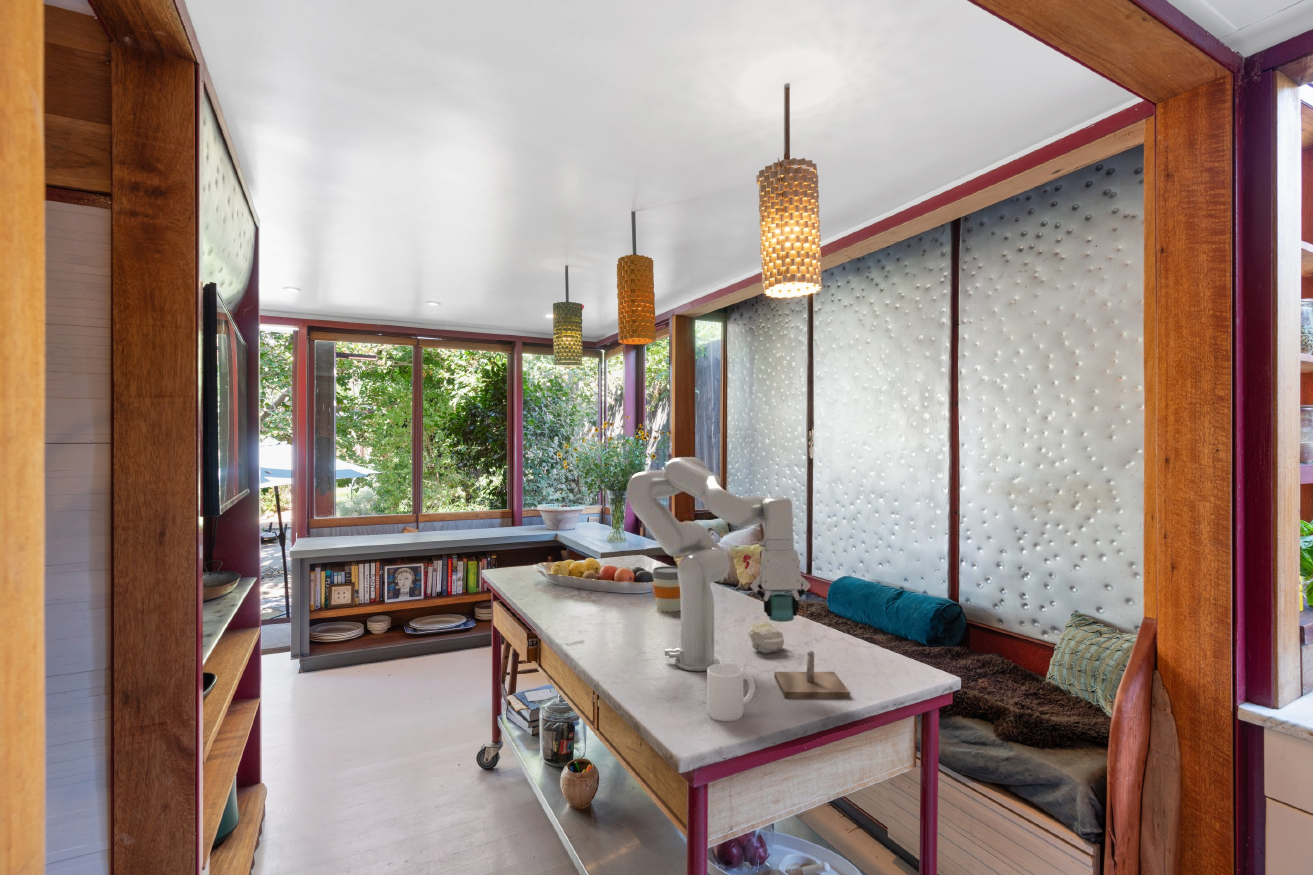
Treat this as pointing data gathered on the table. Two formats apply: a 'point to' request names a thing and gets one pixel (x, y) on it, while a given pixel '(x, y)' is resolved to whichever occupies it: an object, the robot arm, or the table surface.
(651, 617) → the table surface
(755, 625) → the fossil replica
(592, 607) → the table surface
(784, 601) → the bead
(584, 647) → the table surface
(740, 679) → the mug
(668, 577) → the reusable coffee cup
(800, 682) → the spindle stand
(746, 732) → the table surface
